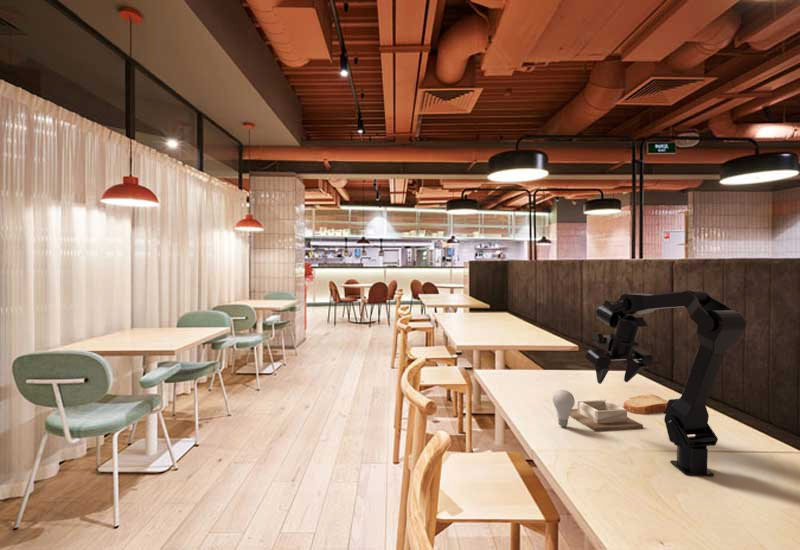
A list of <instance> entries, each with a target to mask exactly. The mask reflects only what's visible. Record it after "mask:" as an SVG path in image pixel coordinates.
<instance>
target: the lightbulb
mask: <svg viewBox="0 0 800 550" xmlns="http://www.w3.org/2000/svg"><path fill="white" fill-rule="evenodd" d="M552 402H553V406H554V408H555V410H556V413H557V418H558V425H559V426H561V428H565V427H566V426H567V427H568V424H569V423H568V422H569V418H570V416H569V413H570V411H571V409H574V406H575V402H576V401H575V397H574V395H573V393H572V392H570V391H569V390H567V389H559V390H556V391H555V392H554V394H553V396H552Z"/></svg>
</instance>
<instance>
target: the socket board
mask: <svg viewBox="0 0 800 550" xmlns="http://www.w3.org/2000/svg"><path fill="white" fill-rule="evenodd" d="M570 416H571V417H570ZM569 417H570V418H571V419H574V420H575V419H576V420H575V421H577V422H579V423H580V424H582V425H584V426H585V427H586V428H588V427H589V428H588V429H590V430H591V431H594V432H603V431H606V432H607V431H618V430H620V431H621V430H632V429H633V430H634V429H644V428H643V427H644V424H642V423H641V422H638V421H636V420H634V419H632V418H630V417H628V411H627V410H626V409H624V408H623V407H622V406H619V405H617V404H615V403H613V402H611V401H609V400H606V399H599V400H579V401H577V408H572V409H571V411H570V413H569Z"/></svg>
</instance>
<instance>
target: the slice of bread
mask: <svg viewBox="0 0 800 550" xmlns="http://www.w3.org/2000/svg"><path fill="white" fill-rule="evenodd" d="M668 401H669V400H667V399H664V398H662V397H660V396H658V395H655V394H653V393H651V394H650V393H649V394H645V395H644V394H642V395H636V396H632V397H630V398H629V399H627V400H625V401H624V403H623V407H622V408H624V409H626V410H627V413H630V414H634V415H649V414H650V415H651V414H657V413H663V412H664V411H665V410H666V408H667V403H668Z"/></svg>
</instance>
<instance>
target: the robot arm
mask: <svg viewBox="0 0 800 550" xmlns="http://www.w3.org/2000/svg"><path fill="white" fill-rule="evenodd" d="M673 308H686V310H687V313H688V316H689V318H690V319H691V320H692V321H693V322H694V323H695V324H696V325H697V326H696V332H695V333H696V336H697V340H698V343H699V345H698V348H697V351H696V354H695V357H694V359H693V363H692V365H691V368H690V371H689V373H688V377H687V379H686V382H685V385H684V388H683V391H682V394H681V396H680V397H679V398H672V399H669V400H667V401H668V403H667V408H666V410H665V411H663V412H662V413H663V414H664V418H663V420H664V423H665V428H666V431H667V435H668V439H669V442H671V443H672V444H674V446H676V460H675V459H674V460H670V464H672V465H673V466H674V467H675V468H677V469H678V470H679V471H681V472H682V474H684V475H687V476H707V477H708V476H709V477H713V476H715V473H714V472H713V471H712V470H710V469H708V457H709V456H708V452H709V448H708V447H710V446H712V447H714V446H717V442H718V440H719V438H718V437H717V434H715V431H714V430H713V429H712V427H711V426H710V424H709V417H710V415H709V411H708V409H707V403H708V399H709V396H710V393H711V391H712V389H713V387H714V384H715V381H716V379H717V375H718V373H719V370H720V367H721V364H722V363H723V360H724V357H725V355H726V352H727V351H728V350H729V349H730V348H731V347H733V346H734V345H735V344H736V343H737V342H738V341H739V340H740V338H741V337H742V335H743V333H744V332H745V330H746V328H747V322H746V320H745V319H744V317H743V315H742V314H741V313H740V312H738V311H736V310H733V309H732V308H731V307H730V306H729V305H727V304H726V303H723V302H721V301H719V300H717V299H716V298H714V297H713V296H711V295H710V294H709V293H708V292H706V291H704V290H703V289H685V290H683V291H675V292H674V291H673V292H667V293H666V292H665V293H658V294H651V293H642V292H641V293H622V294H621V295H620V298H619V299H618V300H616V301H615V302H614V300H611V299H606V300H604V303H602V304H601V305H600V306H599V307H598V308H597V309H596V313H595V316H596V318H597V319H598V320H600V321H601V322H603V323H605V324H606V325H608V326H609V327H610V328H613V329H615V330H614V333H610V334H607V335H605V334H603V333H599V332H597V333H596V332H594V333H593V337H592V343H593V344H595V345H596V346H597V347H603V348H604V350H605V351H607V352H609V353H605V352H604V351H603V350H602V349H601V348H598V349H597V348H594V349H588V350H586V353H585V359H587V360H588V361H589V362H591V364H593V365H594V370H595V375H596V380H597V384H598V385H601V384H602V383H603V382H604V380H605V378H606V376H607V374H608V372H609V370H610V367H609V366H610V365H611V363H612V361H613V362H614V361H626V362H627V363H626V369H625V372H624V378H623V381H624V382H625V383H629V382H630V381H631V380H632V379H633V378H634V377H635V376H636V375H637V374H639V373H640V372H641V371H642V370H644V369H645V368H648V367H649V366H651V365H653V361H654V357H653V354H651V353H649V351H646V350H645V349H644V348H642V347H638V346H639V344H640V342H639V341H637V338H638V335H639V332H640V329H641V328H648V323H647V322H646V321H645V319H644V317H643V316H642V317H641V316H636V315H645V314H649V313H652V312H655V311H656V310H660V309H661V310H662V309H673ZM693 435H694V436H693Z"/></svg>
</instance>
